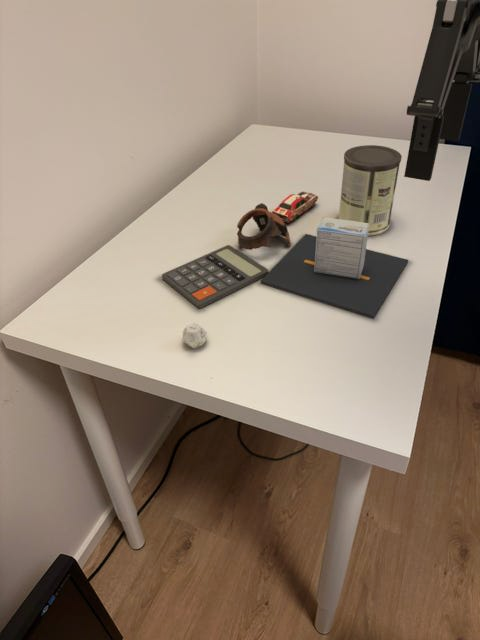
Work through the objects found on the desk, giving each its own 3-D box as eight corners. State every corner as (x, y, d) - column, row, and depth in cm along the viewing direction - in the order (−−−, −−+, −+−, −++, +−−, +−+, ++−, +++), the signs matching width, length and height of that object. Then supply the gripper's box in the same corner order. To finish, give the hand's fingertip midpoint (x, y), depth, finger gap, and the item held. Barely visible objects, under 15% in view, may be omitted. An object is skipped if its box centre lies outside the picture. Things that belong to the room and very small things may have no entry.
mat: (407, 262, 86) (408, 259, 86) (373, 318, 75) (374, 315, 74) (305, 236, 95) (305, 233, 94) (260, 283, 83) (260, 280, 83)
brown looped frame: (298, 256, 90) (281, 229, 84) (253, 276, 93) (233, 251, 87) (286, 212, 97) (269, 184, 91) (245, 232, 100) (226, 206, 94)
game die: (190, 333, 74) (188, 317, 72) (211, 339, 72) (210, 324, 71) (178, 347, 71) (176, 332, 69) (200, 354, 70) (198, 338, 68)
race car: (269, 225, 102) (267, 206, 99) (303, 197, 107) (303, 178, 104) (287, 233, 99) (285, 214, 96) (322, 203, 104) (321, 185, 101)
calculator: (160, 273, 85) (228, 243, 92) (161, 278, 85) (228, 248, 92) (198, 304, 77) (269, 269, 84) (199, 308, 78) (269, 273, 85)
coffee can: (354, 207, 103) (362, 140, 94) (398, 221, 98) (411, 152, 89) (327, 225, 98) (333, 157, 89) (373, 241, 92) (384, 170, 83)
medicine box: (363, 266, 85) (370, 222, 79) (359, 280, 81) (366, 235, 76) (319, 259, 87) (322, 216, 81) (313, 273, 84) (316, 228, 78)
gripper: (505, -76, 34) (440, 205, 47) (543, -81, 50) (487, 129, 63) (398, -70, 37) (366, 191, 50) (467, -77, 53) (429, 122, 67)
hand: (433, 157), depth 57 cm, fingers open, 13 cm apart
